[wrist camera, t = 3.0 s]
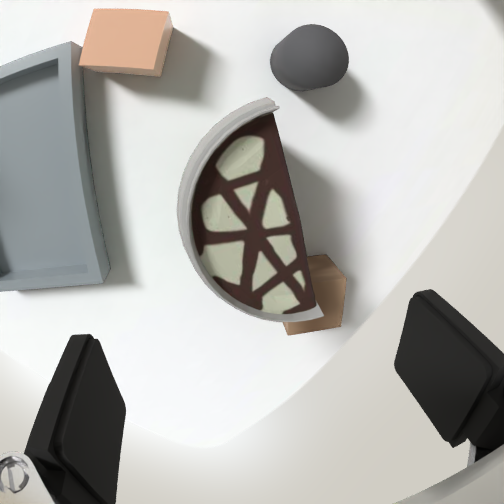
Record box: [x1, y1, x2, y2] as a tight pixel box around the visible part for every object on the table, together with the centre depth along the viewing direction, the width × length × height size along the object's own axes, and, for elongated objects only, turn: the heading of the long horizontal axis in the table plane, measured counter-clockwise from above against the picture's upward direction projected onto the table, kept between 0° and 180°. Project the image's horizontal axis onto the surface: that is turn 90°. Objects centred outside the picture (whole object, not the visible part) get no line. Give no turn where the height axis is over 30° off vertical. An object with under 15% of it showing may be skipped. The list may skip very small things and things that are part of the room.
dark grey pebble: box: [270, 24, 349, 91], centre depth 19 cm, size 4×4×4 cm
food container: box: [177, 97, 324, 322], centre depth 20 cm, size 12×6×10 cm, turn 15°
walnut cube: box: [283, 255, 346, 335], centre depth 26 cm, size 4×4×4 cm
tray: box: [0, 41, 111, 292], centre depth 20 cm, size 12×18×2 cm, turn 3°
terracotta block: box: [79, 9, 173, 77], centre depth 17 cm, size 5×4×4 cm
